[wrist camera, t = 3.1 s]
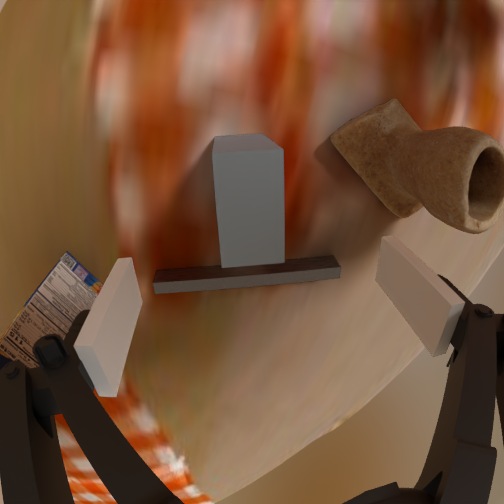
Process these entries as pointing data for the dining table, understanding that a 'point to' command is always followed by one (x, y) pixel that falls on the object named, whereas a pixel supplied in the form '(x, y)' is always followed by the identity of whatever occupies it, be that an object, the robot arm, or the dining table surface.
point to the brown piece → (426, 167)
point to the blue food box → (49, 310)
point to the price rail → (245, 275)
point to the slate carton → (249, 199)
